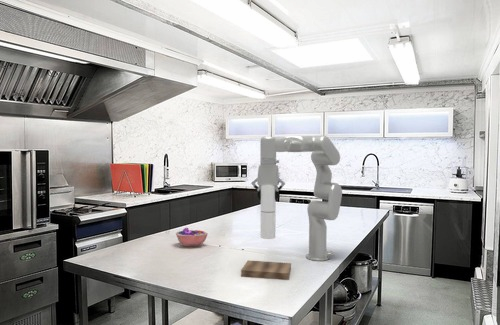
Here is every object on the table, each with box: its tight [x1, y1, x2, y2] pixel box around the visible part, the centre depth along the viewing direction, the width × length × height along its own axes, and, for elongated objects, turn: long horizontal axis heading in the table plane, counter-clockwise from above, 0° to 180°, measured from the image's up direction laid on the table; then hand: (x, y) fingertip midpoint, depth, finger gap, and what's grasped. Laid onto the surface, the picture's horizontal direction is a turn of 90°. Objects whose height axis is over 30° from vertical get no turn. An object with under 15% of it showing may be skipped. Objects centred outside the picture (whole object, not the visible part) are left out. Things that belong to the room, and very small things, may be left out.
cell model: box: [175, 227, 209, 247], centre depth 221 cm, size 17×20×11 cm
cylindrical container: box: [260, 186, 277, 240], centre depth 170 cm, size 7×7×25 cm
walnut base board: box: [240, 260, 292, 281], centre depth 171 cm, size 22×16×3 cm
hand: (268, 199), depth 170 cm, fingers closed on cylindrical container, 7 cm apart
